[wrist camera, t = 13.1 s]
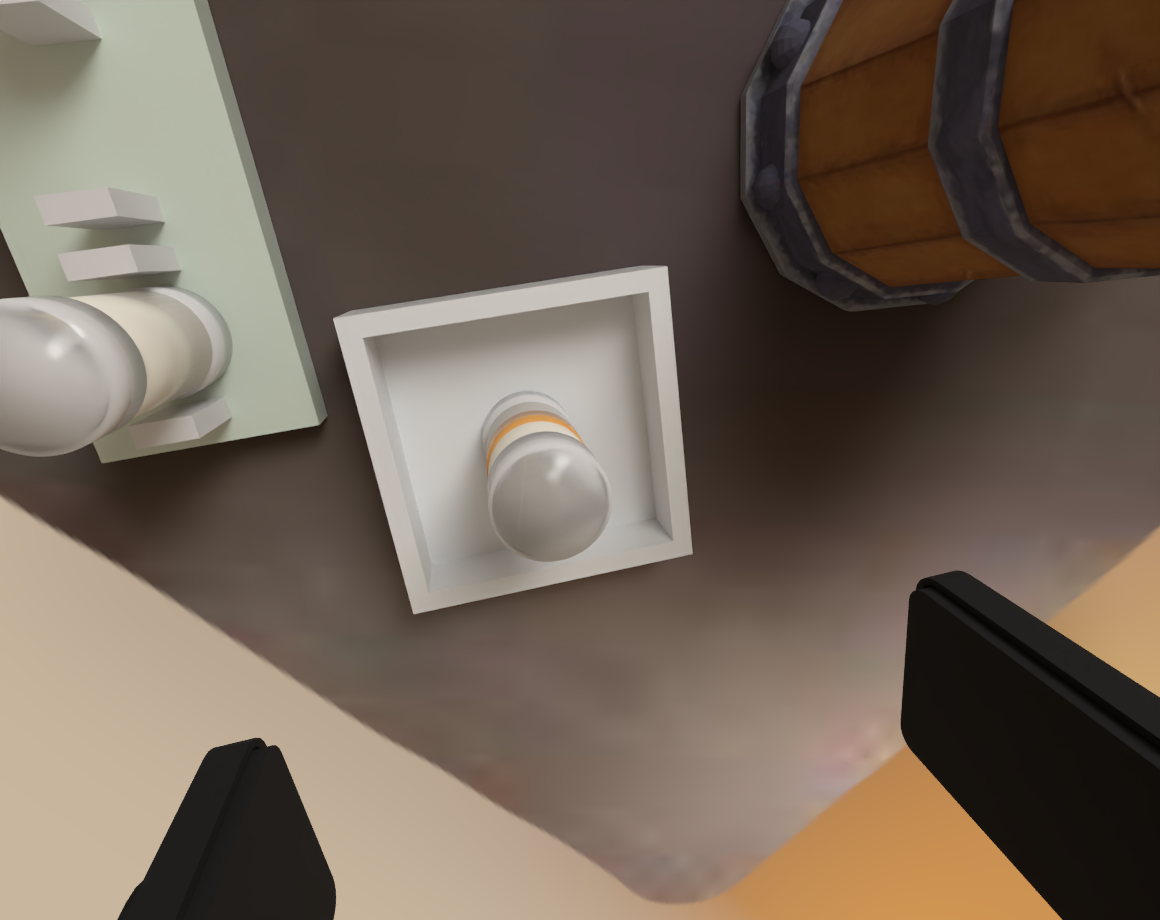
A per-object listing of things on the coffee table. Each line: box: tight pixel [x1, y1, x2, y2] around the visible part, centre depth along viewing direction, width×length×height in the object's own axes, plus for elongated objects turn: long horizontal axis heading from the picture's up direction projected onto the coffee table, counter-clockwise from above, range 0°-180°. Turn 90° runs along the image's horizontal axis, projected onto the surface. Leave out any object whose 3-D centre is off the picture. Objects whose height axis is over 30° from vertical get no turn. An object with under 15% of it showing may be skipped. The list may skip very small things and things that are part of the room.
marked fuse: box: [482, 391, 612, 562], centre depth 22 cm, size 4×4×8 cm
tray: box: [333, 265, 693, 614], centre depth 25 cm, size 12×12×4 cm
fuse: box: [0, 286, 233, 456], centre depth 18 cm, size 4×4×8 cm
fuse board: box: [0, 0, 328, 463], centre depth 19 cm, size 22×8×4 cm, turn 8°
